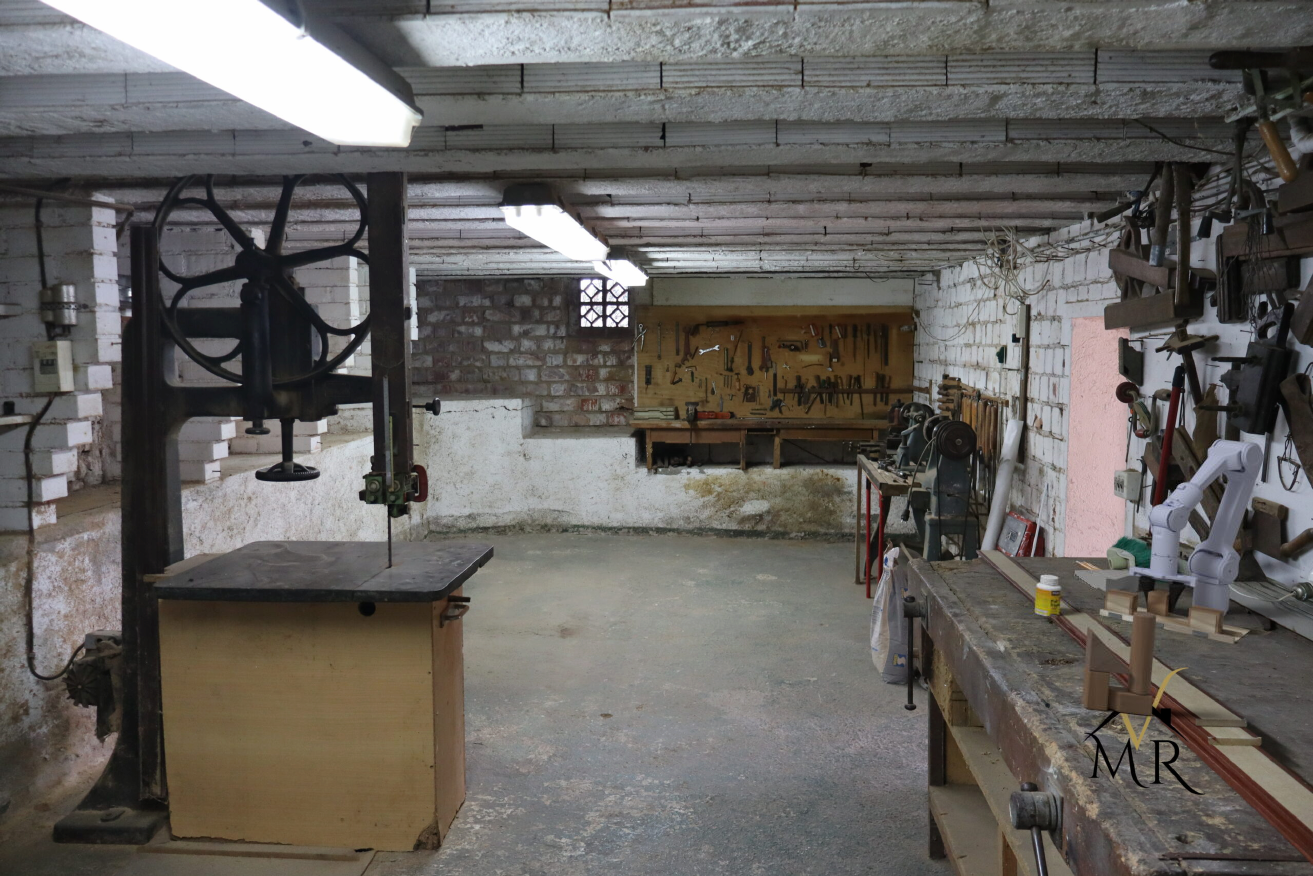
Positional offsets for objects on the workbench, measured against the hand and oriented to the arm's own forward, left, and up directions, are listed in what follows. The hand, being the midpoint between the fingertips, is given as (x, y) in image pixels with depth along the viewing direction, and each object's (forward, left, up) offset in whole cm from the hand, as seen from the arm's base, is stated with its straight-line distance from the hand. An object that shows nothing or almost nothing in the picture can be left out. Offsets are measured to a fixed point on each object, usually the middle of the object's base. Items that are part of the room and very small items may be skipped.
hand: (1160, 609), depth 217 cm
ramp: (-26, -22, -3) cm, 34 cm away
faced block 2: (+7, +11, -1) cm, 14 cm away
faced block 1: (+7, -7, -1) cm, 10 cm away
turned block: (0, 0, -1) cm, 1 cm away
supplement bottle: (+20, -19, -3) cm, 28 cm away
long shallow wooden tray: (+4, +4, -3) cm, 6 cm away
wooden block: (+68, +13, -3) cm, 69 cm away
